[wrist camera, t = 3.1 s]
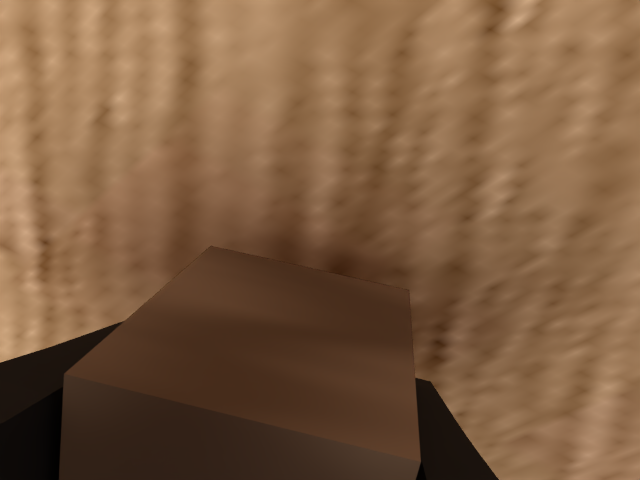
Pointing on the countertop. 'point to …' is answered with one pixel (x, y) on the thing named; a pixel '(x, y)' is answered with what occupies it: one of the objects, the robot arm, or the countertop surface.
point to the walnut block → (249, 380)
